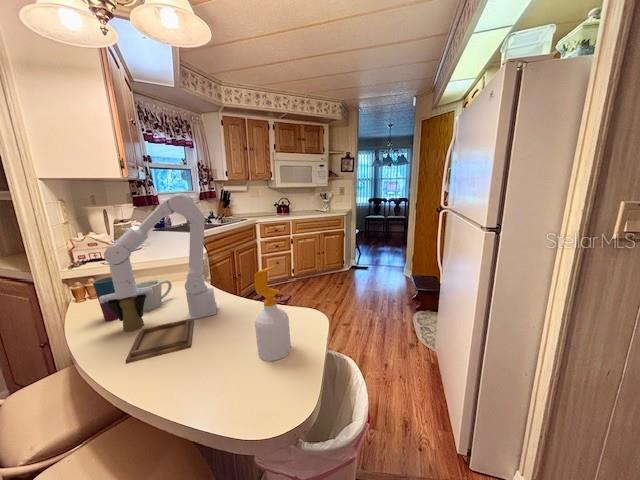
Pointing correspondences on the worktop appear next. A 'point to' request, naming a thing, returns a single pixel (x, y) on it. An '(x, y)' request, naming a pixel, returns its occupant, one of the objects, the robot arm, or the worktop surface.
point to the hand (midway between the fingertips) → (132, 317)
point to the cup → (105, 288)
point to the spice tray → (161, 340)
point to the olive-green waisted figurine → (130, 314)
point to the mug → (155, 298)
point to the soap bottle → (271, 323)
